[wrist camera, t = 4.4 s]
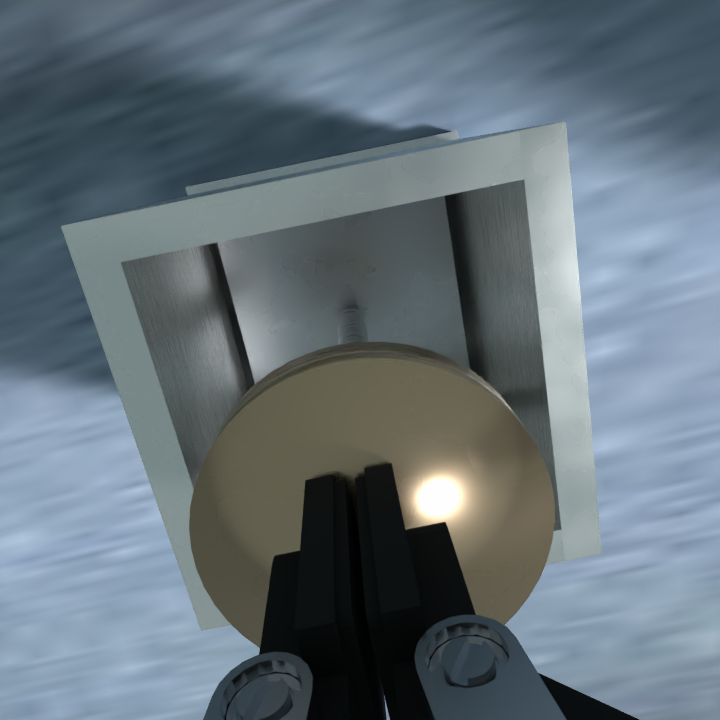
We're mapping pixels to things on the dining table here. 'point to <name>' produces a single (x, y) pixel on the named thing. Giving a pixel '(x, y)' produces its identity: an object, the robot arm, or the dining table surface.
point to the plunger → (364, 410)
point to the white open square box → (327, 201)
